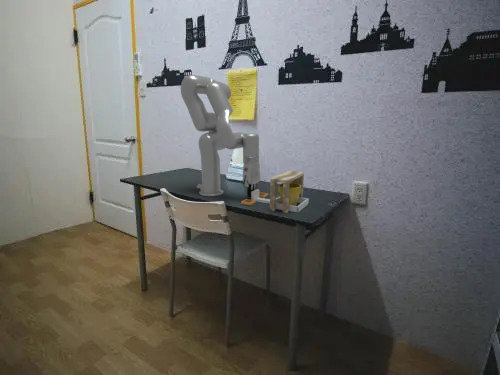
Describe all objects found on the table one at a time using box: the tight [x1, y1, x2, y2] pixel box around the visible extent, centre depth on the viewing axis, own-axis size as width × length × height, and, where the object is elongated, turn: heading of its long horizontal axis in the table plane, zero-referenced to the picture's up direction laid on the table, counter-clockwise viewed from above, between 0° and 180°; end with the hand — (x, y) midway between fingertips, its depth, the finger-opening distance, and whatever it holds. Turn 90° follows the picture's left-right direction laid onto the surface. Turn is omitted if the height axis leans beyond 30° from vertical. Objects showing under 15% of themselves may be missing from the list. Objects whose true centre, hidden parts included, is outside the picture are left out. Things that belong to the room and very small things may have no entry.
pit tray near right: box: [240, 198, 257, 207], centre depth 140 cm, size 5×5×2 cm
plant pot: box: [277, 183, 301, 206], centre depth 137 cm, size 10×10×10 cm
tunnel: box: [269, 170, 305, 214], centre depth 137 cm, size 8×21×14 cm, turn 152°
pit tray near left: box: [259, 191, 269, 199], centre depth 152 cm, size 5×5×2 cm
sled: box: [250, 188, 310, 213], centre depth 140 cm, size 25×15×5 cm, turn 62°
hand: (251, 196), depth 147 cm, fingers closed
